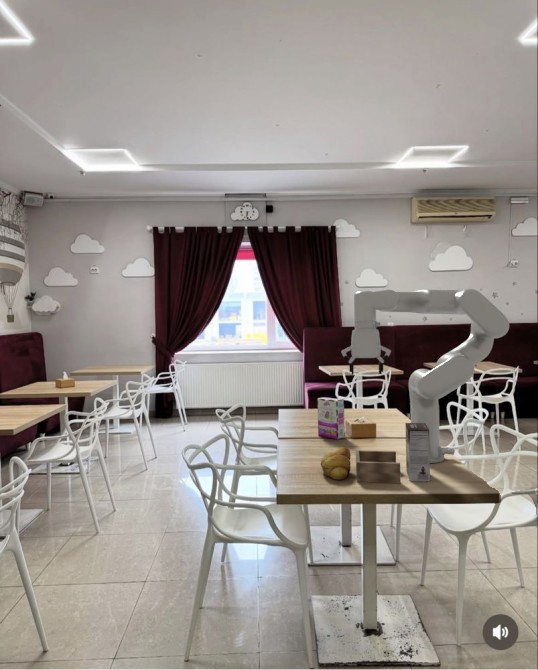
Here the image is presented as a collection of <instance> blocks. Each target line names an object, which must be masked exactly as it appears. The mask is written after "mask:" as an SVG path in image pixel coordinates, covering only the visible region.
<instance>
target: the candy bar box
mask: <svg viewBox="0 0 538 670" xmlns="http://www.w3.org/2000/svg"><path fill="white" fill-rule="evenodd" d="M317 422H318V423H317V430H318V431H317V435H318V436H319V435H320V436H319V437H323V436H324V438H327V437H328V439H334V440H341V439H344V438H345V437H346V435H345V434H346V433H345V432H346V431H345V399H344V398H343V399H341V398H332V397H326V396H324V397H323V396H322V397H318V398H317Z"/></svg>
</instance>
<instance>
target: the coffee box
mask: <svg viewBox="0 0 538 670" xmlns="http://www.w3.org/2000/svg"><path fill="white" fill-rule="evenodd" d="M404 425H405V461H406V464H405V467H406V473H407V476H408V480H409V481H410V482H426V481H430V482H431V463H430V437H429V429H428V427H427V425H426V423H411V422H405V423H404Z"/></svg>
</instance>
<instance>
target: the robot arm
mask: <svg viewBox="0 0 538 670" xmlns="http://www.w3.org/2000/svg"><path fill="white" fill-rule="evenodd" d="M353 307H354V308H353V310H354V311H353V312H354V313H353V317H354V318H353V319H354V329H352V331H351V338H350V340H351V341H350V343H351V345H350V346H348V347H346V348H345V349H342V350H341V351H340V352H341V355H342V356H343V358H344V360H345V361H346V362H347V363H348V364H349V373H351V375H354V373H355V371H354V367H355V366H354V361H355V360H356V359H375V358H376V359H377V360H378V374H379V375H382V373H384V363H385V362H386V360H387V359H388V358H389V356H390V355H391V352H392V350H391V349H389V348H387V347H385V346H384V345H381V339H380V331H379V329H377V328H378V327H381V322H379V321H377V311H380V312H383V313H384V312H386V313H388V312H389V313H416V314H422V315H423V314H426V315H427V314H428V315H429V314H430V315H462V316H463V315H466V316H467V317H469V319H470V320H471V324H470V334H469V336H468V338H467V339H466V340H464V341H463V342H462V343H461V344H459V345H458V346H456V347H455V348H453V349H452V350H449V351H448V352H446V353H444V354H443V355H442V356H440V358H439V359H438V360H437V361H436V365H435V368H432V369H427V368H419V369H416V370H414V371H413V372H412V373H411V374H410V377H409V379H408V391H409V394H408V395H409V401H410V402H409V405H410V423H426V425H427V427H428V429H429V437H430V464H437V463H441V462H443V461H444V460H445V455H455V450H454V449H455V448H449V447H442V446H441V444H440V404H439V400H440V399H441V398H444V397H445V396H447V395H448V394H451V392H453V391H455V390H457V389H458V388H460V387H461V386H463V385H464V384H467V382H469V380H471V378H472V377H473V375H474V372H475V366H476V365H478V364H480V362H483V360H485V358H487V357H488V356H489V354H490V353H491V351H492V349H493V346H494V341H495V340H494V339H499V338H502V337H504V336H505V335H507V333H508V331H509V329H510V321H509V319H508V318H507V316H506V315H505V314H504V312H502V310H500V309H499V308H498V307H497V306H496V305H494V304H493V303H492V302H491V300H489V299H488V297H486V296H485V295H484V294H483V293H481V292H480V291H478V290H476V289H474V288H468V289H459V290H458V289H421V290H414V291H396V290H393V289H382V290H375V291H372V290H361V291H359V290H358V291H357V292H355V293H354V295H353ZM350 351H351V352H350ZM382 351H383V352H385V354H384V356H383V357H381V352H382ZM348 352H350V354H351V356H350V357H349V356H348V355H347V353H348Z"/></svg>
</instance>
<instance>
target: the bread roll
mask: <svg viewBox="0 0 538 670" xmlns="http://www.w3.org/2000/svg"><path fill="white" fill-rule="evenodd" d="M351 456H352V455H351V451H350V449H349V448H348V447H345V446H342V447H339V448H337V449H336V450H335V451H334V452H329V453H326V454H324V455H323V456H322V458H321V460H320V467H321V468H322V472H323V474H324V475H325V476H327V477H330V478H331V479H334V480H338V481H339V480H344V479H346V478H347V476H348V474H349V473H350V472H351V469H352V468H351Z"/></svg>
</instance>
